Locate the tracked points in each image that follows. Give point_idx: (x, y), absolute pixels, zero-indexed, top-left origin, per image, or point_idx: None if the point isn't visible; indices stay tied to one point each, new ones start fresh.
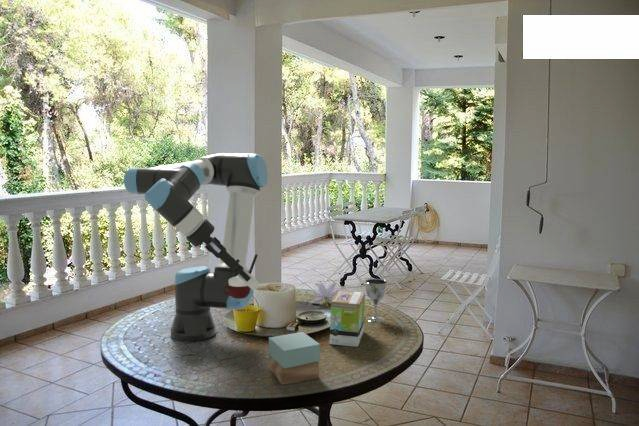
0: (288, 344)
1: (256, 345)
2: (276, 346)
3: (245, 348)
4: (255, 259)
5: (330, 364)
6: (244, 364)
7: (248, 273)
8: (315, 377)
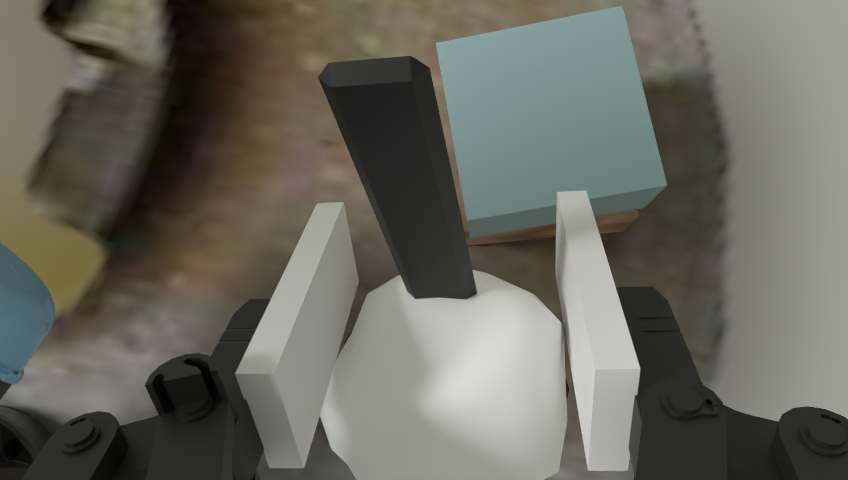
0: (587, 146)
1: (215, 251)
2: None
3: (230, 303)
4: (441, 129)
5: (495, 14)
6: None
7: (615, 304)
8: None
